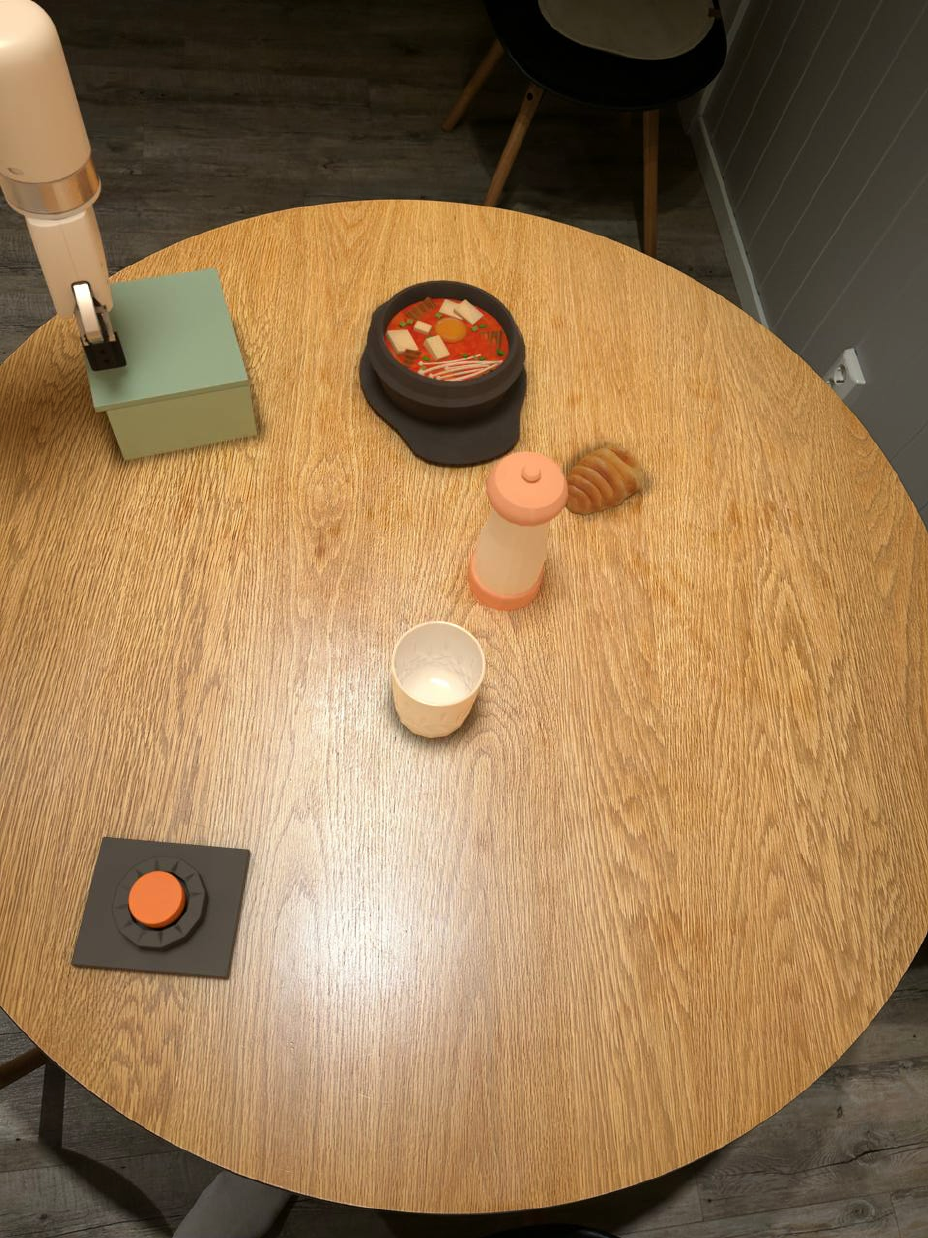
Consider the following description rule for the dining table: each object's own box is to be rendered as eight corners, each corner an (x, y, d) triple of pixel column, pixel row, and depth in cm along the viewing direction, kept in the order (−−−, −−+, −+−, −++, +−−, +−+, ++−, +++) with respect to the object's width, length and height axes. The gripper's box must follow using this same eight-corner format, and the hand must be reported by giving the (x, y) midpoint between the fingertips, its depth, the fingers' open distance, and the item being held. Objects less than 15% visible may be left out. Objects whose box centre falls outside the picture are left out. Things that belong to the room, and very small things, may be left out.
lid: (96, 412, 88) (81, 376, 84) (73, 295, 95) (59, 255, 90) (249, 385, 92) (243, 348, 87) (217, 273, 98) (210, 233, 94)
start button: (127, 925, 72) (122, 921, 71) (139, 873, 74) (134, 868, 73) (180, 930, 73) (175, 926, 71) (190, 878, 75) (186, 873, 73)
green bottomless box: (127, 467, 96) (106, 411, 89) (104, 355, 103) (82, 294, 95) (258, 442, 99) (249, 385, 92) (228, 334, 106) (217, 273, 98)
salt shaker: (453, 568, 94) (472, 450, 77) (516, 543, 96) (548, 423, 79) (487, 627, 92) (514, 517, 75) (551, 600, 94) (592, 487, 77)
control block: (78, 968, 74) (63, 961, 71) (109, 843, 79) (96, 830, 75) (230, 981, 75) (224, 974, 71) (252, 855, 79) (247, 844, 76)
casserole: (554, 459, 102) (569, 408, 94) (387, 488, 98) (389, 437, 91) (490, 294, 113) (499, 237, 105) (337, 315, 109) (335, 256, 101)
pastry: (585, 535, 98) (593, 514, 94) (541, 493, 100) (547, 471, 96) (646, 490, 101) (656, 468, 98) (602, 450, 103) (610, 427, 100)
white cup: (483, 682, 89) (495, 635, 80) (460, 758, 85) (471, 717, 76) (403, 659, 89) (407, 609, 80) (377, 733, 85) (379, 690, 77)
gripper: (-13, 109, 78) (50, 274, 93) (10, 255, 70) (74, 408, 86) (81, 99, 79) (127, 263, 95) (113, 240, 72) (157, 393, 87)
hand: (102, 331), depth 90 cm, fingers open, 8 cm apart
